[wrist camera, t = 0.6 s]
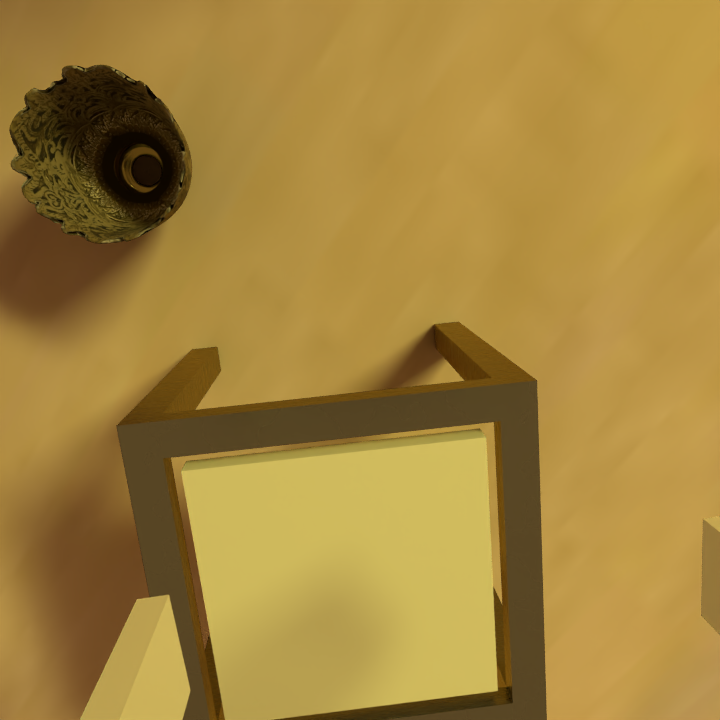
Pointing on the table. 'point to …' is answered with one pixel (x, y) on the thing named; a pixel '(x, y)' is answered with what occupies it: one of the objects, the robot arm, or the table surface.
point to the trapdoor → (346, 573)
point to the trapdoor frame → (337, 421)
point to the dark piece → (99, 154)
